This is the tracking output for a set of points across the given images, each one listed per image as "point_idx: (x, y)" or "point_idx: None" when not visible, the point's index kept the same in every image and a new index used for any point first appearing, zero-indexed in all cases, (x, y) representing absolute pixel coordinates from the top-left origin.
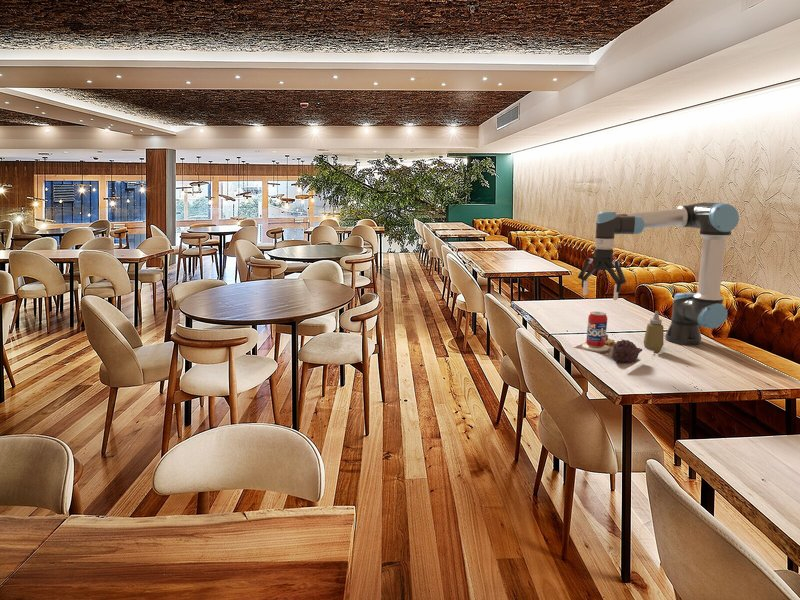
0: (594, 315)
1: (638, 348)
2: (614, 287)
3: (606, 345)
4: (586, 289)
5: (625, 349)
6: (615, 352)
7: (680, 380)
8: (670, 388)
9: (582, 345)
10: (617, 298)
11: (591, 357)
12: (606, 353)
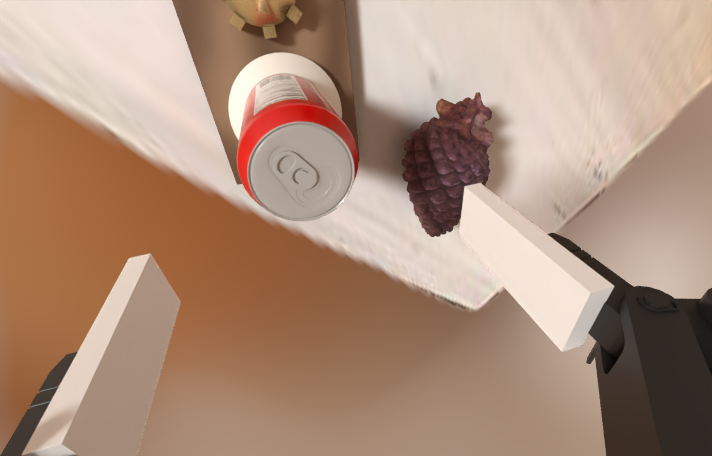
0: (309, 216)
1: (488, 145)
2: (537, 321)
3: (308, 59)
4: (143, 324)
5: None
6: (438, 233)
7: (570, 156)
8: (550, 220)
9: None
10: (484, 192)
11: None
12: (357, 144)
